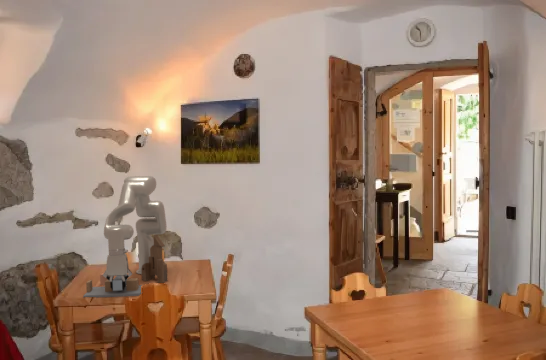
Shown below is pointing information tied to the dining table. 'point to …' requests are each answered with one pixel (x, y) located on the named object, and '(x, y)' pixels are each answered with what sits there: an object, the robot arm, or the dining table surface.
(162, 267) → the wooden toy
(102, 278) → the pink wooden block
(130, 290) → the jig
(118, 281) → the blue-gray rectangular block
